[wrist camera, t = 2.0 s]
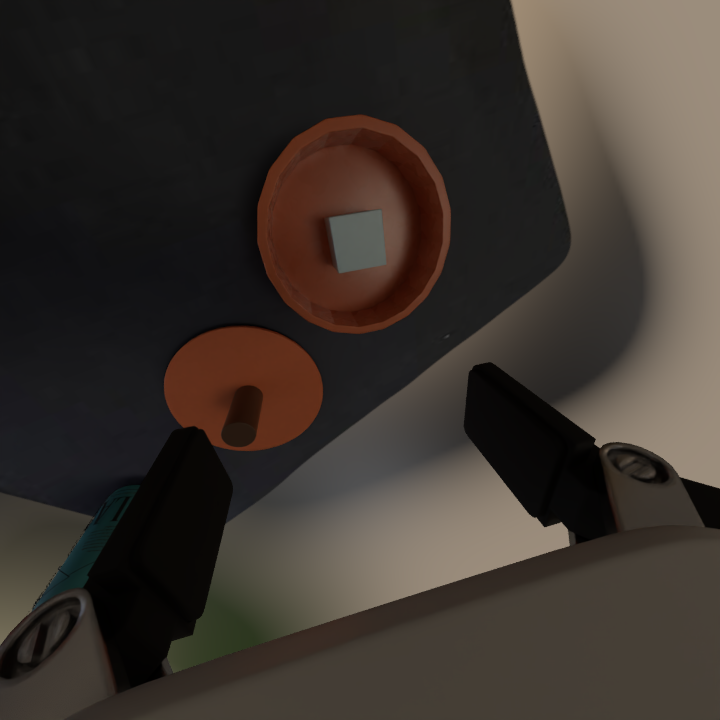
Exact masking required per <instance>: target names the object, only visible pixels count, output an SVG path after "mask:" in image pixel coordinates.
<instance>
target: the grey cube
mask: <svg viewBox="0 0 720 720" xmlns="http://www.w3.org/2000/svg"><path fill="white" fill-rule="evenodd" d="M324 220H325V226H326V231H327V237H328V242H329V248H330V253H331V259H332V264H333V267H334V268H335V269H336V270H337V272H338V273H345V272H350V271H355V270H361V269H366V268H371V267H377V266H382V265H386V253H385V241H384V230H383V218H382V209H376V210H368V211H362V212H356V213H349V214H343V215H337V216H331V217H325V218H324Z"/></svg>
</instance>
